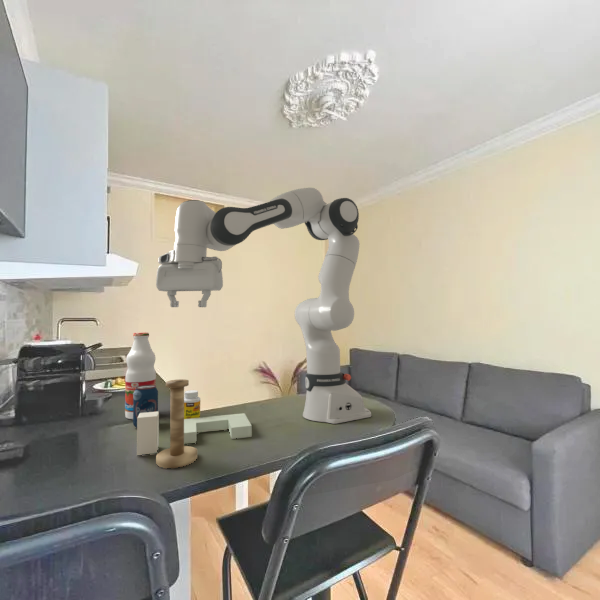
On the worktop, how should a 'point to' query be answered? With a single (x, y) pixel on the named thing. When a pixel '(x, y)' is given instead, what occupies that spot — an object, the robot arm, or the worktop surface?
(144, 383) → the fruit juice
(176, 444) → the bobbin post
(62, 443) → the worktop surface
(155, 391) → the soda can
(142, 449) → the block
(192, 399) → the supplement bottle
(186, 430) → the notched board
